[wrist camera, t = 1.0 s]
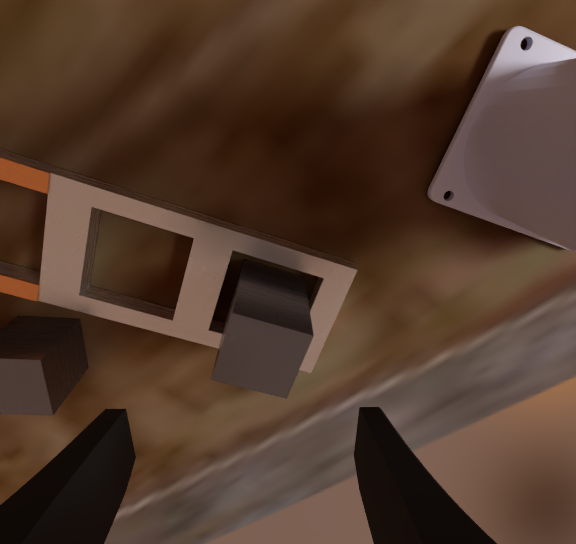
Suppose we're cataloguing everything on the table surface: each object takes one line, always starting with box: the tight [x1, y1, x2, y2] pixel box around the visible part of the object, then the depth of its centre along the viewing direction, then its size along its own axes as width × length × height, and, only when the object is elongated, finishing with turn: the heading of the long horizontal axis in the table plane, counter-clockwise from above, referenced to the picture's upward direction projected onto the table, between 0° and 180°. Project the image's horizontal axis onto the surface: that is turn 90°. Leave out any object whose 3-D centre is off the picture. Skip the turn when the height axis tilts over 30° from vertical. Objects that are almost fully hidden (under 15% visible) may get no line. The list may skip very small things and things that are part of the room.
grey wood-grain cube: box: [0, 316, 88, 415], centre depth 20 cm, size 4×4×4 cm
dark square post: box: [211, 259, 314, 399], centre depth 19 cm, size 4×4×6 cm
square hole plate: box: [0, 149, 357, 373], centre depth 20 cm, size 22×7×1 cm, turn 71°
